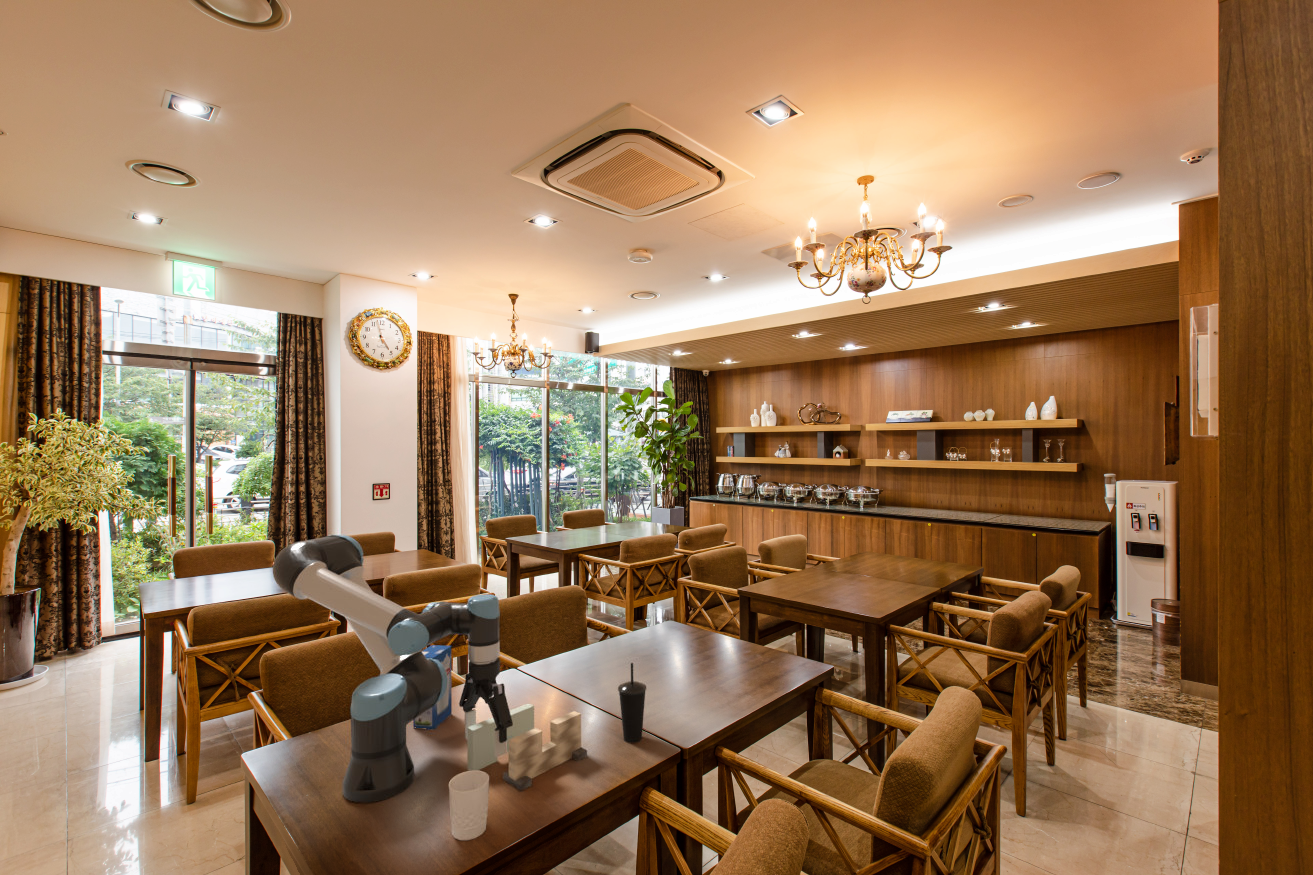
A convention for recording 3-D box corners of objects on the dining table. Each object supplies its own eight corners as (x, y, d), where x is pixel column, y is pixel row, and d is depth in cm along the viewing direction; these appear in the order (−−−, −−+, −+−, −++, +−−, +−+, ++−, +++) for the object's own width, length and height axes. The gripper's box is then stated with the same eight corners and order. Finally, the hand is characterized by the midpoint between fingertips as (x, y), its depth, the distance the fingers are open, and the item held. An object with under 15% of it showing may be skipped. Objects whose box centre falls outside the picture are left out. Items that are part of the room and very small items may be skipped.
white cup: (475, 813, 125) (474, 765, 126) (497, 827, 120) (496, 778, 121) (441, 831, 119) (441, 782, 119) (463, 848, 114) (462, 796, 114)
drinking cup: (621, 747, 152) (620, 669, 153) (615, 733, 160) (615, 659, 160) (650, 743, 154) (649, 666, 155) (643, 729, 162) (642, 656, 162)
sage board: (473, 772, 141) (472, 730, 141) (467, 768, 143) (467, 727, 143) (534, 743, 155) (534, 705, 155) (528, 740, 156) (528, 703, 157)
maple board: (520, 790, 133) (520, 746, 134) (503, 779, 138) (502, 736, 138) (587, 755, 148) (586, 716, 148) (569, 746, 153) (568, 708, 153)
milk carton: (433, 729, 163) (433, 657, 164) (413, 728, 164) (412, 656, 165) (451, 713, 173) (451, 645, 173) (432, 712, 174) (432, 644, 174)
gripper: (526, 666, 140) (527, 756, 140) (471, 644, 157) (471, 724, 156) (499, 675, 134) (500, 769, 134) (444, 652, 151) (445, 735, 151)
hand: (485, 745), depth 145 cm, fingers open, 13 cm apart
